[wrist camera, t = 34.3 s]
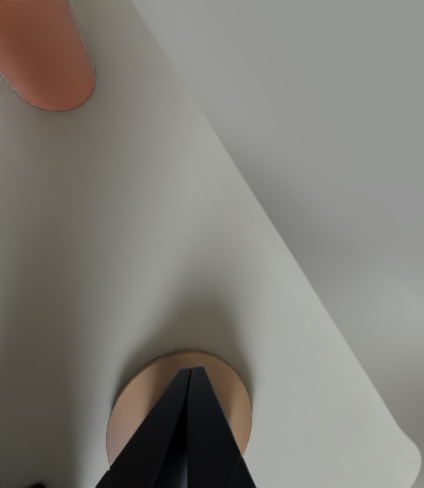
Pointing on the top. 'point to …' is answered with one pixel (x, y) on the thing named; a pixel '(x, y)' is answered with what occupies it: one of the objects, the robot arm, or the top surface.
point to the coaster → (154, 384)
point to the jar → (45, 54)
